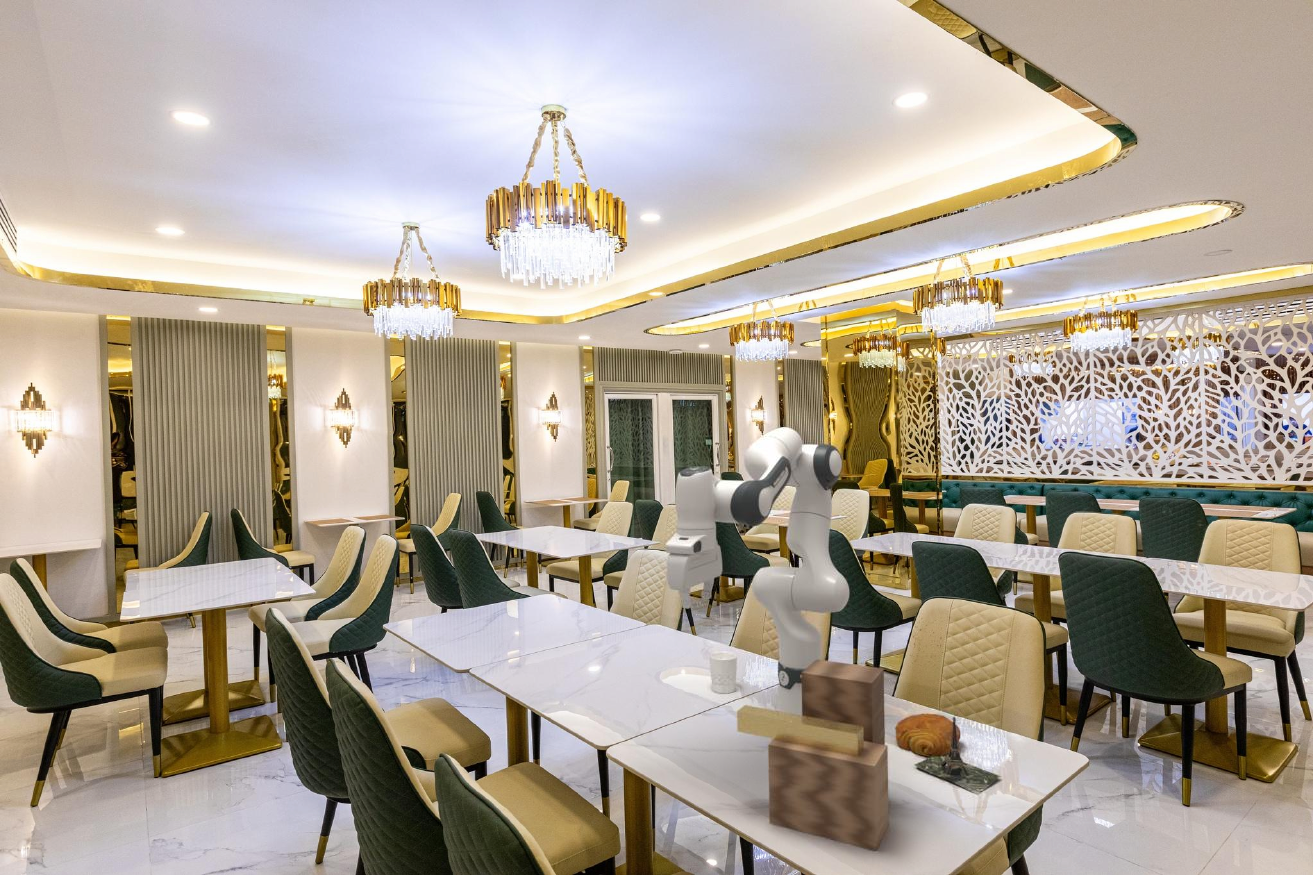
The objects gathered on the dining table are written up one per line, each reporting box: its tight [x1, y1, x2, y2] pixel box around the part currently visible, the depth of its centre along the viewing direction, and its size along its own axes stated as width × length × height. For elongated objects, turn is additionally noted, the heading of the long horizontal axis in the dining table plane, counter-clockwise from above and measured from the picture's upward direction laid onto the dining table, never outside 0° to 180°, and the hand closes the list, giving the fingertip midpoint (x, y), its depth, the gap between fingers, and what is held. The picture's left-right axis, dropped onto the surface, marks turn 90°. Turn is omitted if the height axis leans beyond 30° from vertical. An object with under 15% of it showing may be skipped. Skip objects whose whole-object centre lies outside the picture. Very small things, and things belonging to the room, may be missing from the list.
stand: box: [767, 659, 890, 852], centre depth 145 cm, size 20×21×26 cm
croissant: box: [894, 713, 961, 758], centre depth 175 cm, size 14×16×8 cm
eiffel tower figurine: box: [914, 716, 1002, 795], centre depth 160 cm, size 15×10×13 cm
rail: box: [736, 704, 864, 756], centre depth 143 cm, size 24×4×4 cm, turn 59°
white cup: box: [709, 651, 738, 695], centre depth 215 cm, size 8×8×10 cm
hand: (697, 603), depth 163 cm, fingers open, 8 cm apart
